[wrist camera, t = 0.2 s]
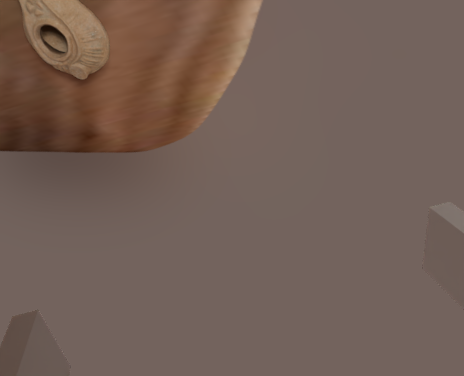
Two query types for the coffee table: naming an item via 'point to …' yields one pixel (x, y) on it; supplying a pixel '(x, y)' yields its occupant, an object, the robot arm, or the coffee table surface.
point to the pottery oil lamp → (66, 35)
